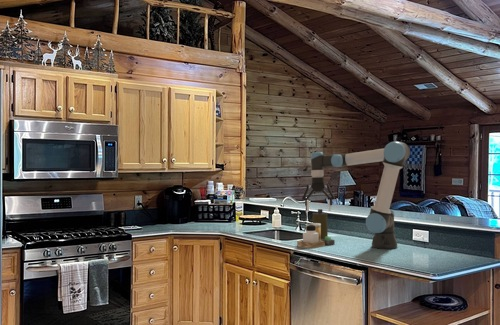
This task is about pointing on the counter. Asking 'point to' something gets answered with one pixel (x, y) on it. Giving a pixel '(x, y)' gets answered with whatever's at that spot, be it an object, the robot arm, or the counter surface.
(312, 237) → the medicine bottle
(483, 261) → the counter surface
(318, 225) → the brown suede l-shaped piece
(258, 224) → the counter surface
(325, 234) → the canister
